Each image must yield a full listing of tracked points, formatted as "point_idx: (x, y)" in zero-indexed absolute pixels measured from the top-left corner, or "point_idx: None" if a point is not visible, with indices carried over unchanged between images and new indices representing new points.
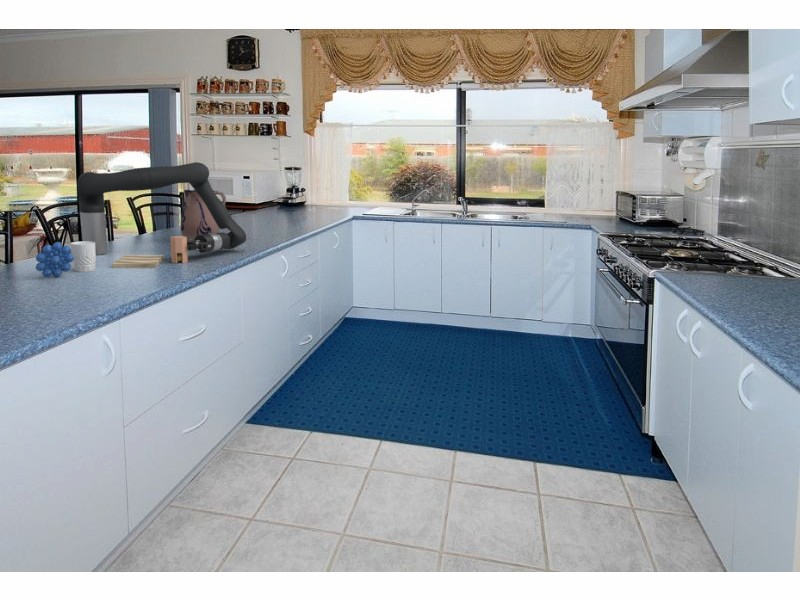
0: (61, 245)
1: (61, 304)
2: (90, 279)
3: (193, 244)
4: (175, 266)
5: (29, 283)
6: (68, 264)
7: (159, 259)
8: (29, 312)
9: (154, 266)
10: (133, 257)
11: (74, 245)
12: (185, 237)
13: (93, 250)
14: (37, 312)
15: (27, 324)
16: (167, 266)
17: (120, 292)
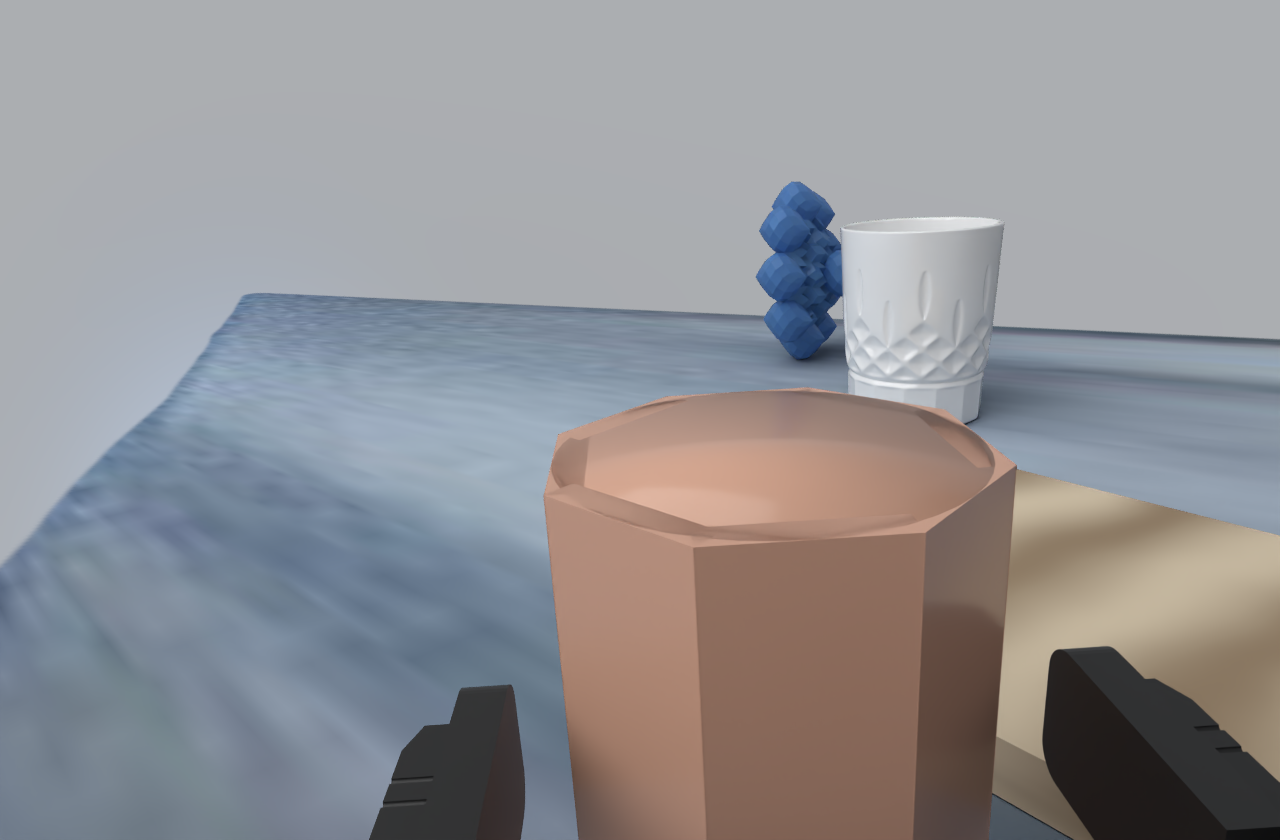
0: (780, 200)
1: (397, 326)
2: (638, 384)
3: (420, 810)
4: None
5: (751, 330)
6: (773, 307)
7: None
8: (411, 309)
9: None
10: (1244, 592)
11: (885, 227)
12: (548, 483)
13: (852, 281)
14: (393, 312)
15: (338, 303)
16: None
17: (320, 376)
